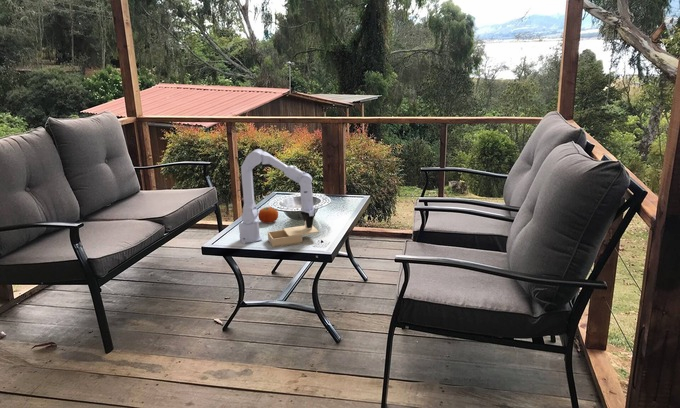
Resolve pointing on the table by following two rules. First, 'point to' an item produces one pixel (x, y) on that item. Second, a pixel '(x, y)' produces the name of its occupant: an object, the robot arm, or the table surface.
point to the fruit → (268, 215)
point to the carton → (283, 239)
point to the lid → (300, 230)
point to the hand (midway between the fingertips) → (308, 226)
